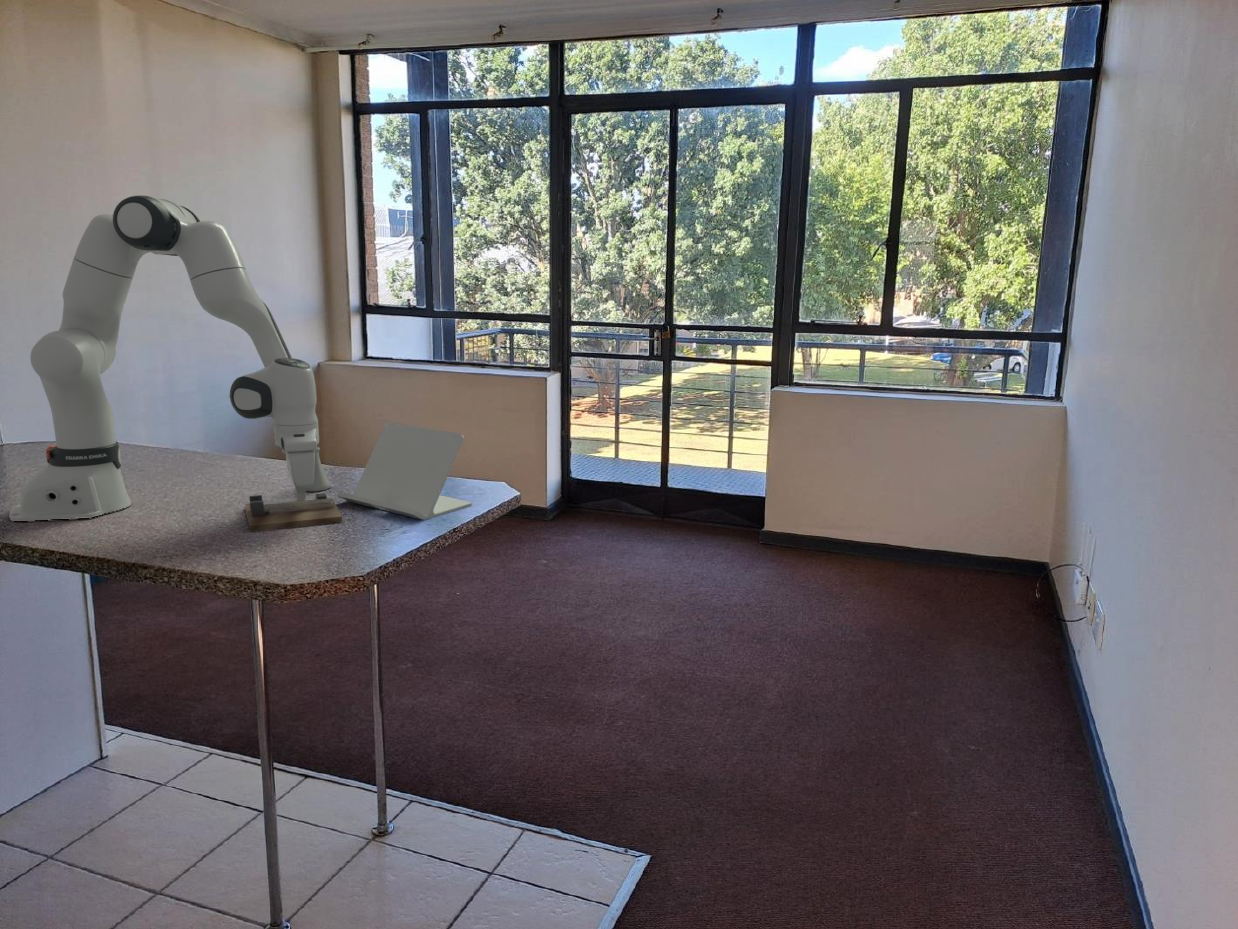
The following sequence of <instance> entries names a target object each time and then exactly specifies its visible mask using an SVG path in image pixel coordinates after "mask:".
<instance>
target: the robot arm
mask: <svg viewBox="0 0 1238 929" xmlns="http://www.w3.org/2000/svg"><path fill="white" fill-rule="evenodd" d="M149 253H151V254H154V255H161V256H162V255H163V256H173V257H179V258H180V259H181V260H182V262H183V264H184V267H185V269H186V272H187V275H188V279H189V281H190V285H191V287H192V291H193V293H194V296H195V297H196V300H197V302H198V303H199V305H200V306H201V308H202V309H203V310H204V311H205V312H207V313H208V314H210V315H211V316H213V317H215V318H217V319H219V320H223V321H225V322H228V323H230V324H233V325H235V326H236V327H239V329H242V330H243V331H244V332H245V333H246V334H247V335H248V336H249V337H250V339H251V341H252V344H253V345H254V347H255V349H256V351H257V354H258V356H259V358H260V360H261V363H262V364H263V368H261V369H260V370H257V371H254V372H251V373H247V374H244V375H241V376H239V377H236V379H234V380H233V382H232V383H231V386H230V390H229V400H230V404H231V406H232V408H233V409H234V411H235V413H237V414H238V415H239V416H240V417H242V418H244V419H248V420H259V419H264V418H268V417H269V418H272V420H273V432H274V433H273V434H274V445H275V446H276V447H280V448H281V453H283V454H285V461H286V468H287V471H288V474H289V476H290V478H291V481H292V483H293V485H294V488H295V497H296V499H297V500H299V501H301V500H305V499H306V498H307V491H306V488H309V487H312V486H313V483H314V465H315V452H314V450H317V447H318V445H319V443H320V434H319V419H318V415H317V414H316V405H317V402H318V401H317V400H318V399H317V387H316V380H315V374H314V371H313V369H312V366H311V365H310V364H309V363H308V362H306V361H304V360H301V359H298V358H292V355H291V353H290V351H289V349H288V346H287V344H286V342H285V340H284V338H283V335H282V333H281V332H280V329H279V326H278V324H277V322H276V319H274V318H275V317H273V314H272V312H271V311H270V309H269V307H268V306H267V305H266V303H265V302H264V301H263V300H262V299H261V298H260V296H259V294H258V293H257V292H256V290H255V288H254V285H253V284H252V282H251V280H250V277H249V275H248V272H247V270H246V267H245V265H244V264H245V263H244V261H243V258H242V255H241V254H240V251H239V249H238V248H237V245H236V243H235V241H234V239H233V237H232V236H231V234H230V232H229V230H228V229H227V227H226V226H224V225H223V224H222V223H221V224H220V223H219V222H216V221H212V220H211V221H210V220H203V221H202V220H200V219H199V217H198V216H197V215H196V214H195V213H194V212H193V211H191V210H190V209H189V208H187V207H186V206H183V205H179V204H177V203H175V202H173V201H170V200H167V199H163V198H155V197H152V196H148V195H132V196H128V197H126V198H124V199H122V200H121V201H120V202H119V203H117V205H116V207H115V208H114V210H113V214H110V213H105V214H104V213H103V214H98V215H95V216H94V217H93V218H92V219H91V221H90V222H89V223H88V226H87V227H86V229H85V230H84V232H83V234H82V236H81V238H80V241H79V243H78V245H77V248H76V250H75V253H74V256H73V258H72V261H71V265H70V269H69V271H68V275H67V278H66V281H65V284H64V288H63V291H62V299H63V300H62V301H63V309H62V318H61V323H60V326H59V329H58V330H56V331H55V330H54V331H51V332H48V333H46V334H44V335H43V336H42V337H40V338H39V339H38V340H37V342H36V343H35V344H34V346H32V349H31V352H30V357H29V358H30V365H31V367H32V368H33V370H34V372H35V373H36V374H37V375H38V377H39V378H40V382H41V385H42V387H43V389H44V392H45V395H46V397H47V401H48V404H49V407H50V411H51V414H52V422H53V424H52V425H53V429H54V437H55V443H56V445H54V444H52V445H51V444H50V445H49V446H48V447H47V448H46V450H45V452H46V453H45V456H46V461H47V465H46V466H45V467H44V468H43V469H41V470H40V471H38V473H36V474H34V476H32V477H31V478H29V480H27V481H26V483H25V484H24V485H23V487H22V489H21V491H20V492H21V493H20V497H19V498H20V499H19V500H20V501H19V502H20V504H18V505H16V506H14V507H12V508H11V509H10V511H9V513H8V514H9V515H8V518H10V519H9V520H10V521H11V522H14V521H28V522H36V521H35V520H48V519H61V518H75V517H93V516H97V515H101V516H102V514H103V513H106V514H109V513H108V512H110V513H112V512H111V511H114V512H117V511H116V510H118V511H120V510H119V509H121V510H123V509H122V508H124V509H126V508H128V507H130V506H131V505H132V504H133V502H132V500H131V498H130V496H129V494H128V491H127V488H126V486H125V485H126V484H125V481H124V478H123V475H122V471H121V466H122V458H121V457H122V454H121V447H120V444H119V442H118V441H117V438H116V429H115V420H114V413H113V406H112V404H111V403H110V402H109V400H108V398H107V394H106V392H105V388H104V385H103V383H102V380H101V374H103V373H105V372H106V371H107V370H108V369H109V368H110V367H111V365H112V364H113V362H114V360H115V358H116V354H117V349H116V348H117V345H118V344H117V342H118V338H119V332H120V324H121V318H122V314H123V310H124V306H125V303H126V301H127V298H128V294H129V291H130V288H131V285H132V281H133V279H134V277H135V272H136V270H137V266H138V263H139V261H140V260H141V259H142V257H143V256H144V255H145V254H149ZM103 515H104V514H103ZM48 521H49V520H48Z"/></svg>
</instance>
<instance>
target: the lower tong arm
mask: <svg viewBox="0 0 1238 929" xmlns="http://www.w3.org/2000/svg"><path fill="white" fill-rule="evenodd" d="M253 500H260V501H253ZM252 501H253V502H252ZM263 502H264V500H263V495H262V494H255V495H249V503H250V509H251V512H252V517H262V516H264V504H263ZM332 507H333V502H332V503H323V504H313V505H303V506H292V507H282V508H272V509H269V514H271V513H281V512H291V511H301V510H311V509H322V508H332Z"/></svg>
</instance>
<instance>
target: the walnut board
mask: <svg viewBox="0 0 1238 929" xmlns="http://www.w3.org/2000/svg"><path fill="white" fill-rule="evenodd" d="M331 499H332V502H333V507H332V508H322V509H311V510H301V511H291V512H281V513H271V514H269V509H264V516H262V517H252V512H251V509H250V502H249V503H245V504H244V505H245V513H246V518H247V523H248V528H249V532H256V531H257V532H258V531H266V530H277V528H279V529H287V528H297V526H298V527H305V525H307V526H313V525H312V524H317V525H323V524H322V523H326V524H333V523H332V522H336V523H342V522H343V516H342V514H341V512H340V510H339V509H338V507H337V504H336V503H335V501H334V499H333V498H332V496H331Z"/></svg>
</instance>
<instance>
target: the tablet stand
mask: <svg viewBox="0 0 1238 929" xmlns="http://www.w3.org/2000/svg"><path fill="white" fill-rule="evenodd" d="M464 440H465V436H464V435H463V434H462V433H457V432H450V431H445V430H441V429H439V430H438V429H434V428H433V429H432V428H427V427H421V426H417V425H415V426H414V425H409V424H404V423H396V422H391V421H388V422H386V423H385V424H384V426H383V428H382V431H381V433H380V434H379V438H378V439H377V442H376V443H375V446H374V448H373V450H372V453H370V456H369V459H368V461H367V463H366V465H365V467H364V469H363V471H362V473H361V476H360V477H359V480H358V482H357V484H356V486H355V489H354V491H353V493H352V494H350V493H346V492H342V491H339V492H338V494H337V497H339V498H341V499H342V500H345V501H347V502H349V501H350V502H349V503H353V502H354V504H357V503H358V504H357V505H361V504H362V506H365V505H366V506H365V507H369V506H370V508H373V507H374V509H377V508H379V509H378V510H381V509H382V511H385V510H386V511H385V512H389V511H390V512H391V513H394V514H397V515H402V516H405V517H410V518H413V519H414V518H415V519H418V520H422V521H426V520H429V519H432V518H435V517H439V516H442V515H443V516H444V515H446V514H449V513H451V512H456V511H459V510H462V509H465V508H468V507H471V506H473V505H472V504H473V503H472V502H471V501H468V500H462V499H458V498H454V497H451V496H450V497H449V496H444V495H441V493H442V491H443V489H444V485H445V483H447V482H446V481H447V480H448V477H449V474H450V472H451V470H452V468H453V465H454V464H455V460H456V459H457V457H458V453H459V452H460V449H461V447H462V444H463V442H464Z"/></svg>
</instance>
